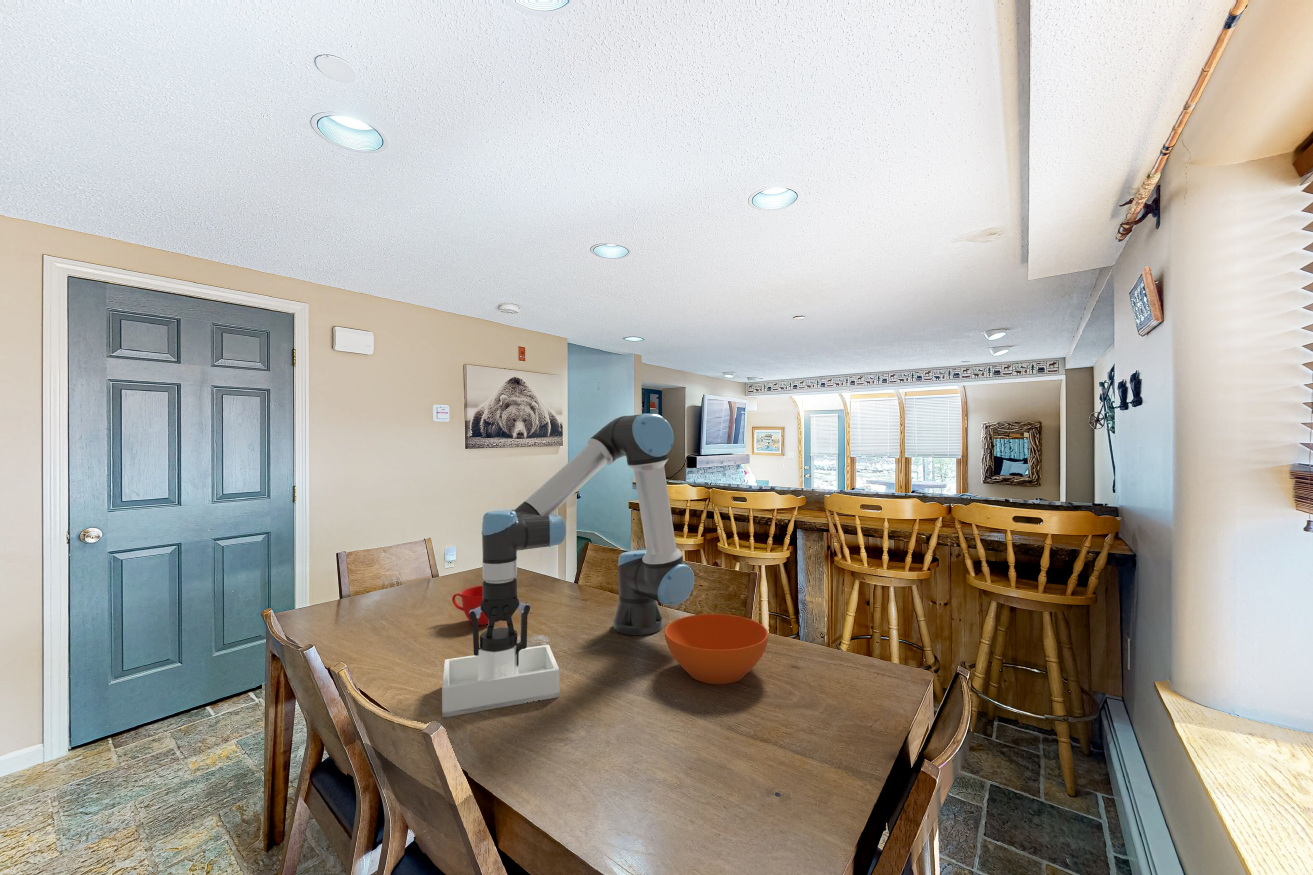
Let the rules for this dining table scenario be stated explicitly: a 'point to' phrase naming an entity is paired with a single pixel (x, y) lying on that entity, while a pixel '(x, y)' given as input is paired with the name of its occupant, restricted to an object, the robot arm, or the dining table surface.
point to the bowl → (716, 646)
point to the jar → (497, 654)
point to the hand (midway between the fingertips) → (500, 682)
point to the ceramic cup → (471, 602)
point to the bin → (499, 683)
